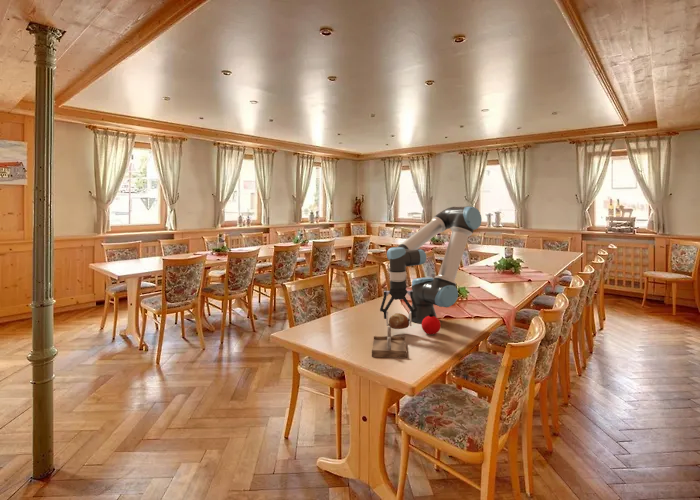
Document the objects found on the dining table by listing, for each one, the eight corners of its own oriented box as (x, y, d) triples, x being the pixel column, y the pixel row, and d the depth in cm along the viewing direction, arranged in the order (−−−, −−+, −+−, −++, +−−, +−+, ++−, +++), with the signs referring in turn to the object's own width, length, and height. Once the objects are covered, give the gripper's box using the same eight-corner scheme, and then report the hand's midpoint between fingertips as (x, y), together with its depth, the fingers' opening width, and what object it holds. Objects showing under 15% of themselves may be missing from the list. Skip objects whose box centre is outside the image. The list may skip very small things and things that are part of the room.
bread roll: (390, 330, 190) (383, 316, 189) (408, 320, 190) (401, 306, 189) (394, 336, 180) (386, 322, 179) (413, 326, 180) (406, 312, 179)
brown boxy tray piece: (404, 342, 173) (404, 326, 173) (406, 357, 156) (406, 339, 155) (373, 341, 175) (373, 325, 174) (371, 356, 157) (371, 338, 156)
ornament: (439, 338, 179) (439, 317, 178) (419, 336, 182) (420, 315, 181) (441, 332, 188) (441, 312, 187) (423, 330, 191) (423, 310, 190)
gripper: (421, 278, 184) (422, 322, 187) (374, 278, 187) (375, 322, 190) (423, 281, 177) (423, 327, 180) (373, 282, 179) (374, 327, 182)
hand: (398, 325), depth 185 cm, fingers closed on bread roll, 10 cm apart
